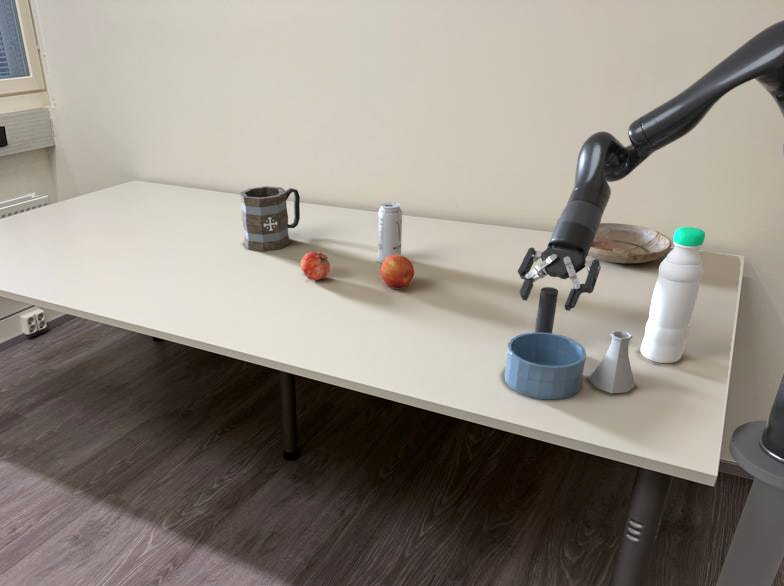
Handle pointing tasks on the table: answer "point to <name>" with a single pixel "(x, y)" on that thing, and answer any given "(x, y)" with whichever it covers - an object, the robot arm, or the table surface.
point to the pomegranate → (315, 265)
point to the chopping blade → (546, 310)
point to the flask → (615, 366)
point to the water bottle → (674, 298)
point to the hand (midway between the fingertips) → (544, 303)
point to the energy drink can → (389, 230)
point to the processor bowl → (544, 365)
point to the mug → (267, 217)
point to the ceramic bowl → (628, 243)
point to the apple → (397, 271)
